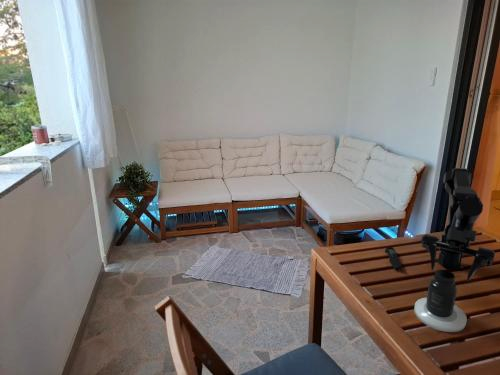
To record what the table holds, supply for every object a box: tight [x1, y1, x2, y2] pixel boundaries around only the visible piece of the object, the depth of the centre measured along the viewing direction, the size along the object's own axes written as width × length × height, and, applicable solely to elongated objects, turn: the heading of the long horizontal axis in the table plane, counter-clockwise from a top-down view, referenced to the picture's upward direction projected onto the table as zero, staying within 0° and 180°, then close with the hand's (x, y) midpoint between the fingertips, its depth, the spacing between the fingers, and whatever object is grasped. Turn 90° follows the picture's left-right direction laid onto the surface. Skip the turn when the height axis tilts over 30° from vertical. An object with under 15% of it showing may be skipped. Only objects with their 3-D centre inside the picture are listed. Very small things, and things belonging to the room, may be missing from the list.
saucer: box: [413, 297, 468, 333], centre depth 93 cm, size 13×13×2 cm
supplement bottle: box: [426, 269, 458, 317], centre depth 92 cm, size 7×7×12 cm
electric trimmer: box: [384, 246, 403, 271], centre depth 123 cm, size 4×16×3 cm, turn 169°
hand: (449, 274), depth 97 cm, fingers open, 9 cm apart
